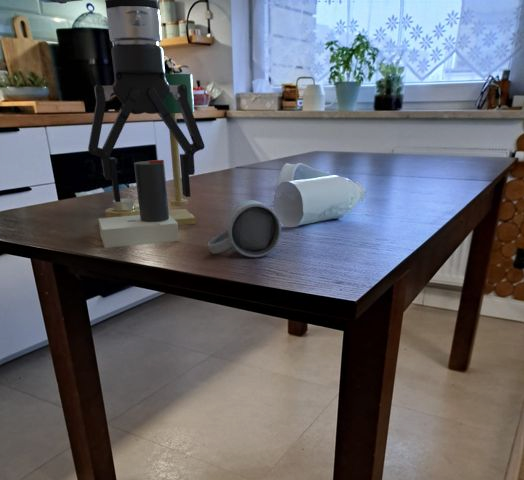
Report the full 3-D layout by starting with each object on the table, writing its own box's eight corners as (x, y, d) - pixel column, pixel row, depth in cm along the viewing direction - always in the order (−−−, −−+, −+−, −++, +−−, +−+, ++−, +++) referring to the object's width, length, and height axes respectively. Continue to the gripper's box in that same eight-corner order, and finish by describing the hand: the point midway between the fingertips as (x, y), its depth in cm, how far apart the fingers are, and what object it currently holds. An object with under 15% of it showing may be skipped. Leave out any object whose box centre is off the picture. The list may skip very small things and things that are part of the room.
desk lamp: (162, 209, 94) (148, 73, 85) (155, 202, 101) (142, 75, 91) (204, 206, 97) (196, 73, 87) (195, 199, 104) (186, 75, 94)
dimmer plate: (104, 248, 82) (101, 228, 81) (100, 235, 90) (97, 217, 88) (188, 240, 86) (186, 221, 85) (177, 228, 94) (176, 211, 92)
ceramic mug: (272, 242, 84) (271, 193, 80) (282, 256, 77) (281, 203, 73) (206, 247, 82) (203, 197, 79) (210, 261, 75) (206, 208, 72)
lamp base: (109, 231, 92) (107, 214, 91) (105, 221, 100) (103, 205, 99) (195, 224, 97) (194, 207, 96) (185, 214, 105) (184, 199, 103)
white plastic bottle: (373, 217, 101) (376, 174, 97) (300, 231, 91) (301, 184, 87) (343, 210, 107) (346, 170, 103) (272, 223, 96) (272, 179, 93)
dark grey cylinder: (142, 222, 85) (135, 163, 80) (138, 217, 89) (131, 159, 85) (171, 220, 86) (166, 161, 82) (166, 214, 90) (161, 158, 86)
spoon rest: (291, 183, 141) (291, 155, 137) (333, 185, 137) (334, 156, 134) (261, 198, 121) (260, 165, 117) (309, 200, 117) (310, 167, 114)
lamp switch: (114, 214, 94) (113, 202, 93) (113, 210, 97) (111, 199, 96) (135, 212, 95) (133, 201, 94) (132, 209, 98) (131, 197, 97)
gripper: (53, 40, 69) (80, 207, 79) (219, 43, 76) (226, 196, 86) (53, 45, 76) (78, 199, 86) (207, 47, 83) (214, 189, 92)
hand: (152, 198), depth 86 cm, fingers open, 11 cm apart
